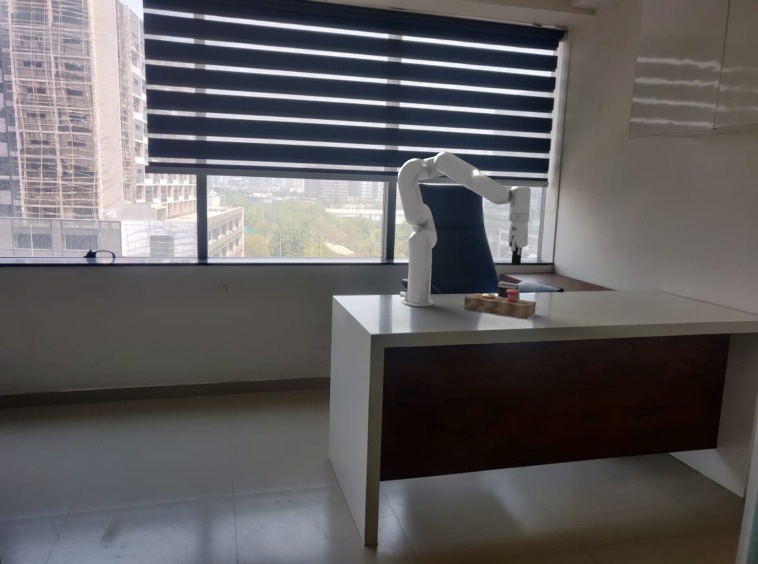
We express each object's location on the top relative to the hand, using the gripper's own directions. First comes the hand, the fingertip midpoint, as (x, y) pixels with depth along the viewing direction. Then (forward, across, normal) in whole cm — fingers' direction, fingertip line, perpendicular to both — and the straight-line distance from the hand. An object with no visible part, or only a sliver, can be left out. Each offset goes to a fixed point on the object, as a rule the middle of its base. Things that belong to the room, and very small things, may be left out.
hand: (516, 264), depth 220 cm
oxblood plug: (+17, 0, +1) cm, 17 cm away
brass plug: (+19, 0, +11) cm, 22 cm away
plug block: (+20, 0, +6) cm, 20 cm away
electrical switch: (+20, +19, +9) cm, 29 cm away
